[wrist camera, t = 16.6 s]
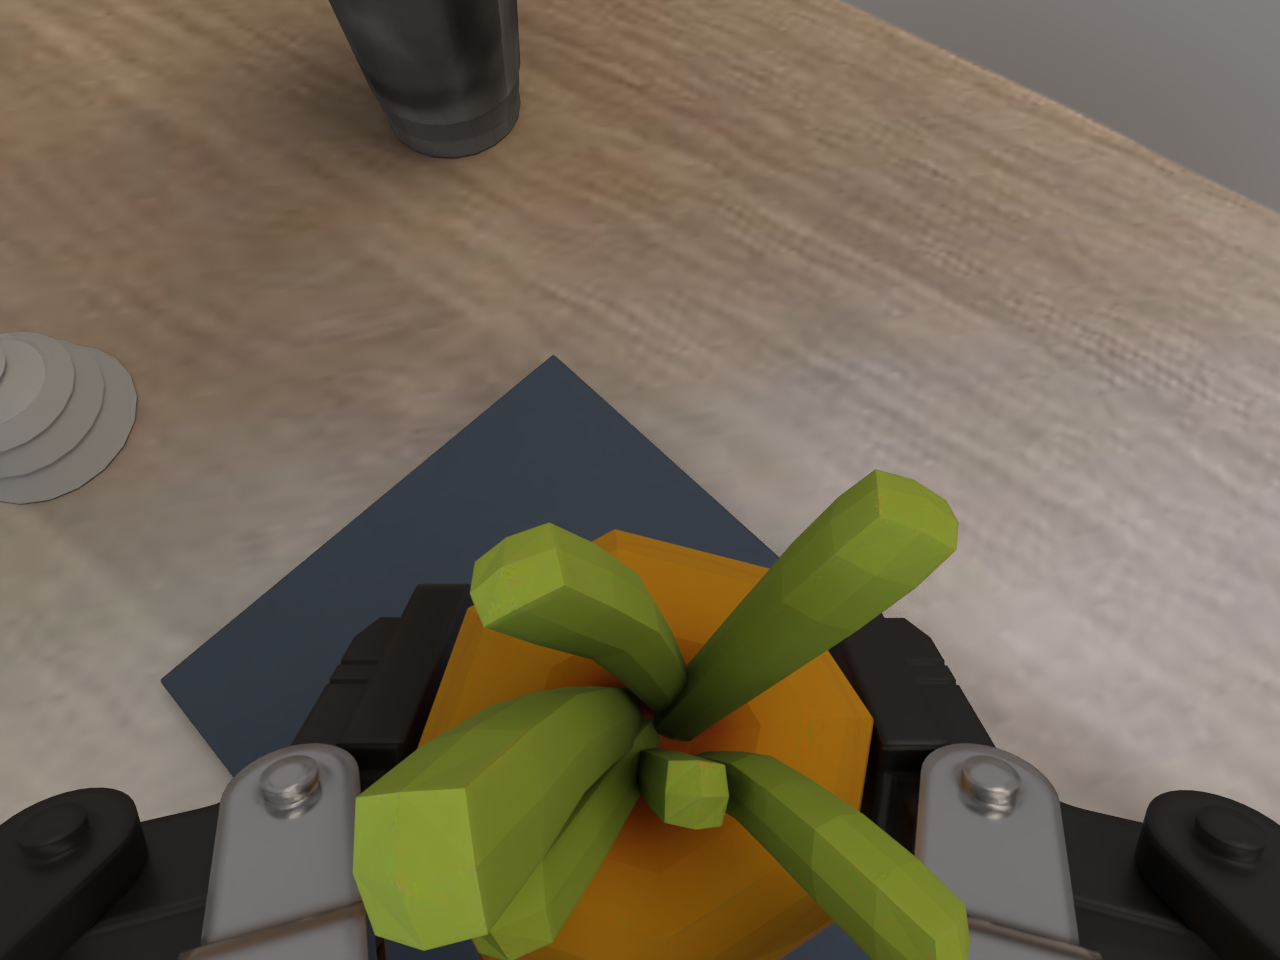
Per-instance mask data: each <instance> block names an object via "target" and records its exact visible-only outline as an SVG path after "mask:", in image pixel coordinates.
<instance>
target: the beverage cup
mask: <svg viewBox="0 0 1280 960" xmlns="http://www.w3.org/2000/svg"><path fill="white" fill-rule="evenodd" d="M329 2H330V4H331V6H332V8H333V10H334V12H335V15H336V17H337V19H338V21H339V23H340V25H341V27H342V29H343V31H344V34H345V36H346V38H347V40H348V42H349V44H350V46H351V48H352V50H353V53H354V55H355V57H356V59H357V61H358V63H359V65H360V67H361V69H362V72H363V74H364V76H365V78H366V80H367V82H368V84H369V86H370V88H371V91H372V92H373V94H374V95H375V96H376V98H377V99H378V101H379V103H380V105H381V106H382V108H383V110H384V112H385V113H386V115H387V117H388V120H389V123H390V125H391V128H392V129H393V131H394V132H395V133H396V135H397V136H398V138H399V139H400V141H402V142H403V143H405V144H406V145H408V146H409V147H411V148H412V149H414V150H415V151H418V152H421V153H424V154H427V155H431V156H434V157H454V158H456V157H461V156H466V155H471V154H476V153H478V152H481V151H483V150H485V149H487V148H489V147H491V146H493V145H495V144H496V143H498V142H499V141H500V140H501V139H502V138H503V137H505V136H506V135H507V134H508V133H509V132H510V131H511V129H512V127H513V125H514V124H515V122H516V120H517V119H518V115H519V109H520V96H519V90H518V89H519V68H520V50H519V32H518V15H517V0H329Z"/></svg>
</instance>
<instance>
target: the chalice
mask: <svg viewBox="0 0 1280 960" xmlns="http://www.w3.org/2000/svg"><path fill="white" fill-rule="evenodd" d="M136 402H137V395H136V392H135V388H134V385H133V382H132V378H131V375H130V374H129V373H128V372H127V370H126V369H125V368H124V367H123V366H122V365H121V363H120V362H119V361H118V360H117V359H116V358H114V357H112V356H110V355H108V354H106V353H105V352H103V351H101V350H99V349H97V348H93V347H86V346H79V345H75V344H73V343H71V342H69V341H66V340H59V339H53V338H50V337H48V336H46V335H44V334H40V333H33V332H26V331H20V332H12V333H5V334H0V501H4V502H10V503H16V504H24V503H31V502H38V501H45V500H51V499H53V498H55V497H58V496H60V495H63V494H65V493H67V492H70V491H72V490H75V489H77V488H79V487H81V486H82V485H83V484H85V483H86V482H87V481H89V480H90V479H92V478H93V477H94V476H96V475H97V474H98V473H100V472H101V471H102V470H104V469H105V468H106V467H107V465H108V464H109V463H110V462H111V460H112V459H113V458H114V457H115V456H116V454H117V453H118V452H119V451H120V450H121V448H122V447H123V446H124V444H125V442H126V439H127V437H128V435H129V433H130V430H131V428H132V426H133V424H134V421H135V412H136Z"/></svg>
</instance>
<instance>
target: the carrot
mask: <svg viewBox="0 0 1280 960" xmlns="http://www.w3.org/2000/svg"><path fill="white" fill-rule="evenodd" d="M957 534H958V521H957V519H956V517H955V515H954V514H953V512H952V510H951V508H950V506H949V505H948V503H947V501H946V500H944V499H943V498H941V497H940V496H938V495H937V494H935V493H934V492H932V491H931V490H929V489H927V488H926V487H924V486H923V485H921V484H920V483H918V482H917V481H915V480H912V479H909V478H905V477H902V476H898V475H894V474H891V473H887V472H883V471H880V470H876V469H875V470H874V471H873V472H871V473H870V474H869V475H867V476H866V477H865V478H863V479H862V480H861V481H859V482H858V483H857V484H855V485H854V486H853V487H851V488H850V489H849V490H847V491H846V492H845V493H843V494H842V495H841V496H839V497H838V498H837V499H836V500H835V501H834V502H833V503H832V504H831V505H830V506H829V507H828V508H827V509H826V510H825V511H824V512H823V513H822V514H821V515H820V516H819V517H818V518H817V519H816V520H815V521H814V522H813V523H812V524H811V525H810V526H809V527H808V528H807V529H806V530H805V531H804V532H803V533H802V534H801V535H800V536H799V537H798V538H797V539H796V540H795V541H794V542H793V543H792V544H791V545H790V546H789V547H788V549H787V550H786V551H785V552H784V553H783V554H782V555H781V557H780V558H779V559H778V560H777V561H776V562H775V563H774V565H773V566H772V567H771V568H766V567H762V566H758V565H754V564H750V563H746V562H742V561H738V560H734V559H730V558H726V557H722V556H718V555H715V554H711V553H707V552H703V551H699V550H695V549H691V548H687V547H683V546H679V545H675V544H671V543H667V542H663V541H660V540H656V539H652V538H648V537H644V536H640V535H636V534H632V533H628V532H624V531H620V530H616V529H614V530H612V531H610V532H609V533H607V534H605V535H603V536H601V537H599V538H597V539H596V540H594V541H592V542H591V541H588V540H586V539H584V538H582V537H580V536H578V535H575V534H573V533H571V532H569V531H567V530H565V529H563V528H560V527H558V526H556V525H554V524H552V523H550V522H549V523H546V524H543V525H540V526H538V527H535V528H532V529H529V530H526V531H523V532H520V533H517V534H514V535H512V536H509V537H506V538H505V539H504V540H502V541H501V542H500V543H498V544H497V545H496V546H495V547H493V548H492V549H491V550H490V551H488V552H487V553H486V554H484V555H483V556H482V557H481V558H479V559H478V560H477V561H475V564H474V570H473V577H472V583H471V589H470V595H471V598H472V600H473V603H474V605H473V606H471V607H469V608H468V609H467V611H466V614H465V617H464V620H463V623H462V625H461V628H460V631H459V634H458V637H457V639H456V642H455V645H454V648H453V650H452V653H451V656H450V659H449V662H448V664H447V667H446V670H445V673H444V676H443V678H442V681H441V684H440V687H439V689H438V692H437V695H436V698H435V701H434V703H433V706H432V709H431V712H430V715H429V717H428V720H427V723H426V726H425V728H424V731H423V734H422V737H421V740H420V742H419V745H418V748H417V750H416V751H414V752H413V753H412V754H410V755H409V756H408V757H407V758H405V759H404V760H403V761H402V762H400V763H399V764H398V765H397V766H395V767H394V768H393V769H391V770H390V771H389V772H388V773H386V774H385V775H384V776H383V777H381V778H380V779H379V780H378V781H376V782H375V783H374V784H372V785H371V786H370V787H369V788H367V789H366V790H365V791H364V792H362V793H361V794H360V795H359V796H357V797H356V805H355V829H354V853H353V875H354V878H355V881H356V884H357V886H358V889H359V892H360V895H361V898H362V900H363V903H364V906H365V909H366V911H367V914H368V917H369V920H370V923H371V925H372V928H373V931H374V934H375V935H376V936H379V937H382V938H385V939H388V940H392V941H395V942H398V943H401V944H404V945H407V946H410V947H414V948H417V949H420V950H423V951H425V950H429V949H433V948H437V947H441V946H444V945H448V944H452V943H456V942H460V941H464V940H468V939H471V940H472V943H473V945H474V947H475V950H476V952H477V954H478V957H479V959H480V960H780V959H782V958H783V957H785V956H786V955H787V954H789V953H790V952H792V951H793V950H795V949H796V948H798V947H799V946H801V945H802V944H803V943H805V942H806V941H808V940H809V939H811V938H812V937H814V936H815V935H817V934H818V933H819V932H821V931H822V930H824V929H825V928H827V927H828V926H830V925H831V924H833V923H834V922H836V923H837V924H838V925H839V926H840V927H841V928H842V930H843V931H844V932H845V933H846V934H847V935H848V936H849V937H850V938H851V939H852V940H853V941H854V942H855V943H856V944H857V945H858V946H859V947H860V948H861V949H862V950H863V951H864V952H865V953H866V954H867V955H868V956H869V957H870V958H871V959H872V960H968V954H969V948H970V935H969V928H968V921H967V913H966V906H965V904H964V903H963V902H962V901H961V900H960V899H959V898H958V897H957V896H956V895H955V894H954V893H953V892H952V891H951V890H950V889H948V888H947V887H946V886H945V885H944V884H943V883H942V882H941V881H940V880H939V879H938V878H937V877H936V876H935V875H934V874H933V873H932V872H931V871H930V870H929V869H928V868H927V867H926V866H925V865H924V864H923V863H922V862H921V861H920V860H919V859H918V858H916V857H915V856H914V855H913V854H911V853H910V852H909V851H908V850H907V849H905V848H904V847H903V846H902V845H900V844H899V843H898V842H897V841H896V840H894V839H893V838H892V837H891V836H889V835H888V834H887V833H886V832H884V831H883V830H882V829H881V828H880V827H878V826H877V825H876V824H875V823H873V822H872V821H871V820H870V819H869V818H867V817H866V816H865V815H864V814H862V813H861V812H860V809H861V802H862V795H863V789H864V782H865V776H866V769H867V763H868V756H869V750H870V743H871V736H872V730H873V723H874V720H873V717H872V716H871V714H870V713H869V711H868V710H867V708H866V707H865V705H864V704H863V702H862V701H861V699H860V698H859V696H858V695H857V693H856V692H855V690H854V689H853V687H852V686H851V684H850V683H849V681H848V680H847V678H846V677H845V675H844V674H843V672H842V671H841V669H840V668H839V666H838V665H837V663H836V662H835V660H834V659H833V657H832V656H831V654H830V653H829V651H828V650H829V649H830V648H832V647H833V646H835V645H836V644H838V643H839V642H841V641H842V640H844V639H845V638H847V637H848V636H850V635H851V634H853V633H854V632H856V631H857V630H859V629H860V628H861V627H863V626H864V625H866V624H867V623H868V622H870V621H871V620H872V619H874V618H875V617H877V616H878V615H879V614H881V613H882V612H883V611H885V610H886V609H887V608H889V607H890V606H892V605H893V604H894V603H896V602H897V601H898V600H900V599H901V598H902V597H904V596H905V595H907V594H908V593H909V592H911V591H912V590H913V589H915V588H916V587H917V586H918V585H919V584H920V583H921V582H922V581H924V580H925V579H926V578H927V577H928V576H929V575H930V574H931V573H932V572H933V571H934V570H935V569H936V568H937V567H938V566H939V565H941V564H942V563H943V562H944V561H945V560H946V559H947V558H948V557H949V556H950V555H951V554H952V553H953V552H954V551H955V550H956V546H957Z"/></svg>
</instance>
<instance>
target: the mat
mask: <svg viewBox="0 0 1280 960" xmlns="http://www.w3.org/2000/svg"><path fill="white" fill-rule="evenodd" d="M549 522H550V523H552V524H554V525H556V526H558V527H560V528H563V529H565V530H567V531H569V532H571V533H573V534H575V535H578V536H580V537H582V538H584V539H586V540H588V541H591V542H592V541H594V540H596V539H597V538H599V537H601V536H603V535H605V534H607V533H609V532H610V531H612V530H614V529H616V530H620V531H624V532H628V533H632V534H636V535H640V536H644V537H648V538H652V539H656V540H660V541H663V542H667V543H671V544H675V545H679V546H683V547H687V548H691V549H695V550H699V551H703V552H707V553H711V554H715V555H718V556H722V557H726V558H730V559H734V560H738V561H742V562H746V563H750V564H754V565H758V566H762V567H766V568H771V567H772V566H773V565H774V563H775V562H776V561H777V560H778V559H779V557H778V556H777V555H776V554H775V553H774V552H773V551H771V550H770V549H769V548H768V547H767V546H766V545H765V544H764V543H763V542H761V541H760V540H759V539H758V538H757V537H756V536H755V535H754V534H753V533H751V532H750V531H749V530H748V529H747V528H746V527H745V526H744V525H743V524H741V523H740V522H739V521H738V520H737V519H736V518H735V517H734V516H733V515H731V514H730V513H729V512H728V511H727V510H726V509H725V508H724V507H723V506H721V505H720V504H719V503H718V502H717V501H716V500H715V499H714V498H713V497H711V496H710V495H709V494H708V493H707V492H706V491H705V490H704V489H703V488H701V487H700V486H699V485H698V484H697V483H696V482H695V481H694V480H693V479H691V478H690V477H689V476H688V475H687V474H686V473H685V472H684V471H683V470H681V469H680V468H679V467H678V466H677V465H676V464H675V463H674V462H673V461H671V460H670V459H669V458H668V457H667V456H666V455H665V454H664V453H663V452H661V451H660V450H659V449H658V448H657V447H656V446H655V445H654V444H653V443H651V442H650V441H649V440H648V439H647V438H646V437H645V436H644V435H643V434H641V433H640V432H639V431H638V430H637V429H636V428H635V427H634V426H633V425H631V424H630V423H629V422H628V421H627V420H626V419H625V418H624V417H623V416H621V415H620V414H619V413H618V412H617V411H616V410H615V409H614V408H613V407H611V406H610V405H609V404H608V403H607V402H606V401H605V400H604V399H603V398H601V397H600V396H599V395H598V394H597V393H596V392H595V391H594V390H593V389H591V388H590V387H589V386H588V385H587V384H586V383H585V382H584V381H582V380H581V379H580V378H579V377H578V376H577V375H576V374H575V373H574V372H572V371H571V370H570V369H569V368H568V367H567V366H566V365H565V364H564V363H562V362H561V361H560V360H559V359H558V358H557V357H556V356H554V355H553V356H551V357H550V358H549V359H548V360H546V361H545V362H544V363H543V364H542V365H540V366H539V367H538V368H537V369H535V370H534V371H533V372H532V373H531V374H529V375H528V376H527V377H526V378H525V379H523V380H522V381H521V382H520V383H519V384H517V385H516V386H515V387H514V388H512V389H511V390H510V391H509V392H508V393H506V394H505V395H504V396H503V397H502V398H500V399H499V400H498V401H497V402H496V403H494V404H493V405H492V406H491V407H490V408H488V409H487V410H486V411H485V412H483V413H482V414H481V415H480V416H479V417H477V418H476V419H475V420H474V421H473V422H471V423H470V424H469V425H468V426H467V427H465V428H464V429H463V430H462V431H461V432H459V433H458V434H457V435H456V436H454V437H453V438H452V439H451V440H450V441H448V442H447V443H446V444H445V445H444V446H442V447H441V448H440V449H439V450H438V451H436V452H435V453H434V454H433V455H432V456H430V457H429V458H428V459H427V460H425V461H424V462H423V463H422V464H421V465H419V466H418V467H417V468H416V469H415V470H413V471H412V472H411V473H410V474H409V475H407V476H406V477H405V478H404V479H403V480H401V481H400V482H399V483H398V484H396V485H395V486H394V487H393V488H392V489H390V490H389V491H388V492H387V493H386V494H384V495H383V496H382V497H381V498H380V499H378V500H377V501H376V502H375V503H374V504H372V505H371V506H370V507H369V508H367V509H366V510H365V511H364V512H363V513H361V514H360V515H359V516H358V517H357V518H355V519H354V520H353V521H352V522H351V523H349V524H348V525H347V526H346V527H345V528H343V529H342V530H341V531H340V532H338V533H337V534H336V535H335V536H334V537H332V538H331V539H330V540H329V541H328V542H326V543H325V544H324V545H323V546H322V547H320V548H319V549H318V550H317V551H315V552H314V553H313V554H312V555H311V556H309V557H308V558H307V559H306V560H305V561H303V562H302V563H301V564H300V565H299V566H297V567H296V568H295V569H294V570H293V571H291V572H290V573H289V574H288V575H286V576H285V577H284V578H283V579H282V580H280V581H279V582H278V583H277V584H276V585H274V586H273V587H272V588H271V589H270V590H268V591H267V592H266V593H265V594H264V595H262V596H261V597H260V598H259V599H257V600H256V601H255V602H254V603H253V604H251V605H250V606H249V607H248V608H247V609H245V610H244V611H243V612H242V613H241V614H239V615H238V616H237V617H236V618H235V619H233V620H232V621H231V622H230V623H228V624H227V625H226V626H225V627H224V628H222V629H221V630H220V631H219V632H218V633H216V634H215V635H214V636H213V637H212V638H210V639H209V640H208V641H207V642H206V643H204V644H203V645H202V646H201V647H199V648H198V649H197V650H196V651H195V652H193V653H192V654H191V655H190V656H189V657H187V658H186V659H185V660H184V661H183V662H181V663H180V664H179V665H178V666H177V667H175V668H174V669H173V670H172V671H170V672H169V673H168V674H167V675H166V676H164V677H163V678H162V679H161V683H162V684H163V685H164V687H165V688H166V689H167V691H168V692H169V693H170V695H171V696H172V697H173V699H174V700H175V701H176V702H177V704H178V705H179V706H180V708H181V709H182V710H183V712H184V713H185V714H186V716H187V717H188V718H189V719H190V721H191V722H192V723H193V725H194V726H195V727H196V729H197V730H198V731H199V733H200V734H201V735H202V737H203V738H204V739H205V740H206V742H207V743H208V744H209V746H210V747H211V748H212V750H213V751H214V752H215V754H216V755H217V756H218V758H219V759H220V760H221V761H222V763H223V764H224V765H225V767H226V768H227V769H228V771H229V772H230V773H231V775H232V776H233V777H235V776H236V775H237V774H238V773H239V772H240V771H241V770H242V769H244V768H245V767H246V766H248V765H249V764H250V763H252V762H254V761H255V760H257V759H259V758H261V757H263V756H265V755H267V754H269V753H271V752H274V751H277V750H279V749H282V748H286V747H290V746H291V744H292V742H293V741H294V739H295V737H296V735H297V734H298V732H299V730H300V729H301V727H302V725H303V723H304V722H305V720H306V718H307V717H308V715H309V713H310V712H311V710H312V708H313V706H314V705H315V703H316V701H317V700H318V698H319V696H320V694H321V693H322V691H323V689H324V688H325V686H326V684H329V681H330V680H329V679H330V677H331V676H332V674H333V672H334V671H335V669H336V667H337V665H340V664H341V659H342V657H343V655H344V653H345V652H346V650H347V648H348V647H349V645H350V643H351V641H352V640H353V638H354V637H355V636H356V635H357V634H359V633H360V632H361V631H363V630H364V629H365V628H367V627H368V626H369V625H371V624H372V623H373V622H375V621H376V620H377V619H379V618H380V617H401V615H402V613H403V611H404V609H405V607H406V605H407V603H408V601H409V599H410V598H411V596H412V594H413V592H414V590H415V588H416V586H417V585H418V584H470V585H471V583H472V577H473V570H474V564H475V561H477V560H478V559H479V558H481V557H482V556H483V555H484V554H486V553H487V552H488V551H490V550H491V549H492V548H493V547H495V546H496V545H497V544H498V543H500V542H501V541H502V540H504V539H505V538H506V537H509V536H512V535H514V534H517V533H520V532H523V531H526V530H529V529H532V528H535V527H538V526H540V525H543V524H546V523H549ZM386 946H387V953H388V960H480V959H479V957H478V954H477V952H476V950H475V947H474V945H473V943H472V940H471V939H468V940H464V941H460V942H456V943H452V944H448V945H444V946H441V947H437V948H433V949H429V950H425V951H423V950H420V949H417V948H414V947H410V946H407V945H404V944H401V943H398V942H395V941H392V940H388V939H386ZM780 960H872V959H871V958H870V957H869V956H868V955H867V954H866V953H865V952H864V951H863V950H862V949H861V948H860V947H859V946H858V945H857V944H856V943H855V942H854V941H853V940H852V939H851V938H850V937H849V936H848V935H847V934H846V933H845V932H844V931H843V930H842V928H841V927H840V926H839V925H838V924H837V923H836V922H834V923H833V924H831V925H830V926H828V927H827V928H825V929H824V930H822V931H821V932H819V933H818V934H817V935H815V936H814V937H812V938H811V939H809V940H808V941H806V942H805V943H803V944H802V945H801V946H799V947H798V948H796V949H795V950H793V951H792V952H790V953H789V954H787V955H786V956H785V957H783V958H782V959H780Z"/></svg>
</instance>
